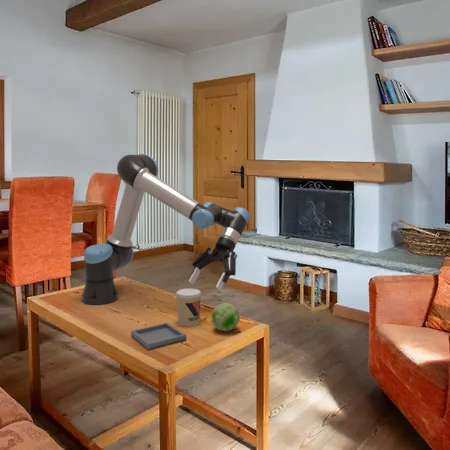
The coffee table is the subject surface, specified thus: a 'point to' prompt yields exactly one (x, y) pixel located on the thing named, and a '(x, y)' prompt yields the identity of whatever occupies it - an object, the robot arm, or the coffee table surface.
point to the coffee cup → (188, 306)
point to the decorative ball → (225, 317)
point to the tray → (158, 336)
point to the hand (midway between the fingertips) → (204, 286)
